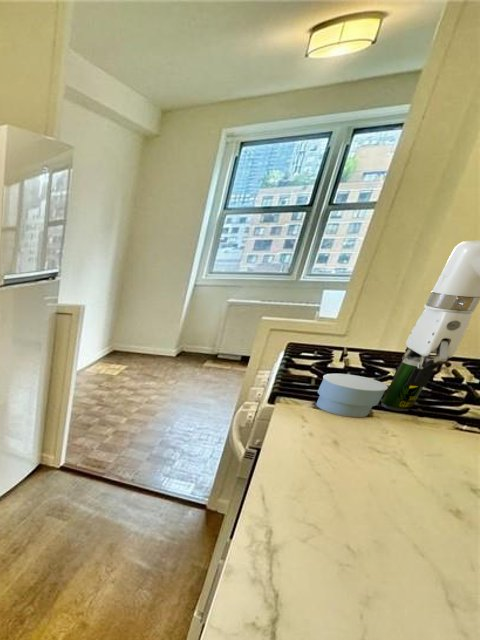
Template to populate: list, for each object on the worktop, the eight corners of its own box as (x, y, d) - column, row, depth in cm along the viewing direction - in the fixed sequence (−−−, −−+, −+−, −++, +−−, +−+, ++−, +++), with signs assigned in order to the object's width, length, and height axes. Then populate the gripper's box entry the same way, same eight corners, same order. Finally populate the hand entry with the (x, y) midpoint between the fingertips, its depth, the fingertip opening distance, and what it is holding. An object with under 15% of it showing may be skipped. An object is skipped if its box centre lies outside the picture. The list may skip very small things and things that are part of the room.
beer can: (373, 404, 119) (398, 356, 113) (391, 402, 119) (416, 355, 114) (397, 412, 114) (424, 364, 108) (416, 411, 115) (444, 362, 109)
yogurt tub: (362, 404, 119) (375, 377, 115) (382, 422, 110) (397, 393, 106) (305, 397, 123) (316, 371, 119) (319, 414, 114) (332, 386, 110)
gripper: (500, 312, 97) (450, 396, 105) (453, 296, 110) (412, 372, 119) (449, 309, 99) (405, 391, 108) (410, 294, 113) (373, 368, 122)
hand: (409, 380), depth 113 cm, fingers closed on beer can, 5 cm apart
